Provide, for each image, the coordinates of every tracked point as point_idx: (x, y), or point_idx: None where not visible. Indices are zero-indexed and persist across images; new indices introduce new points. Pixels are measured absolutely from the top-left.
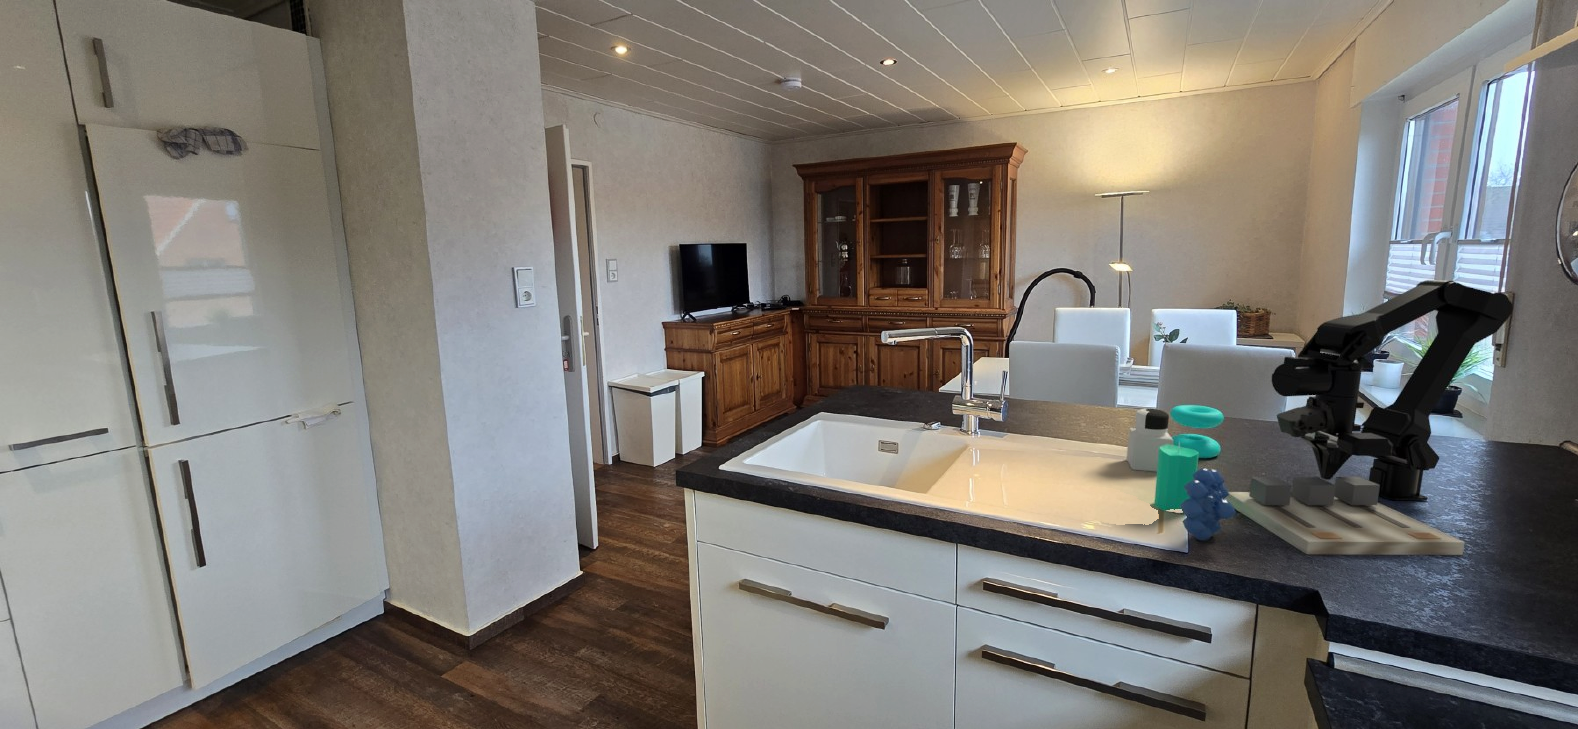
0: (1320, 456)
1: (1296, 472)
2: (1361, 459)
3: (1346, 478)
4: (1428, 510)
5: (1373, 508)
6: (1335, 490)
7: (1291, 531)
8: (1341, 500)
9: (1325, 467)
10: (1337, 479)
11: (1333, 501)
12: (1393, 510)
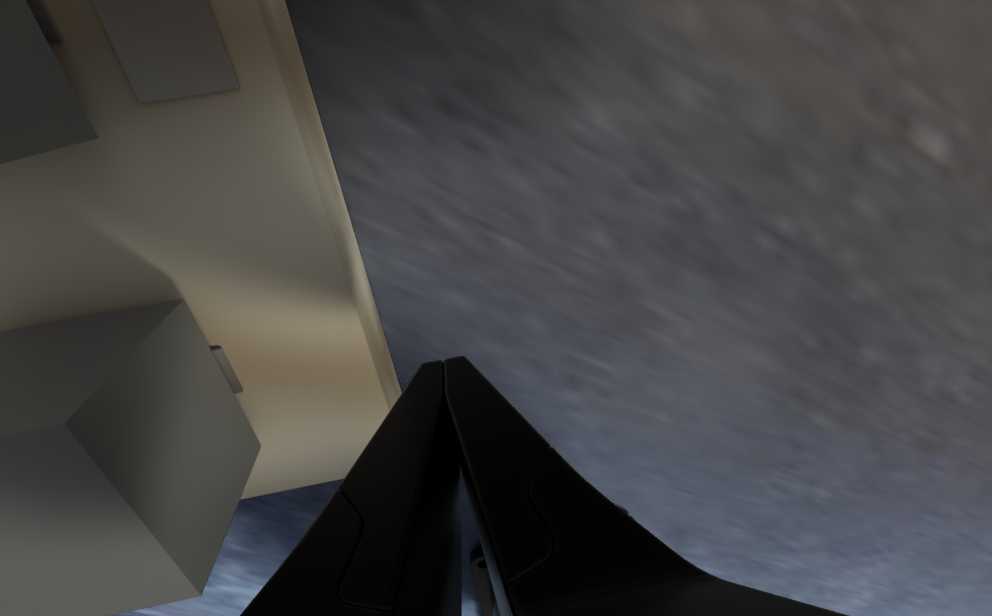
0: (484, 518)
1: (882, 348)
2: (922, 598)
3: (52, 495)
4: None
5: None
6: (139, 333)
7: None
8: None
9: (379, 442)
10: (47, 413)
11: (93, 259)
12: None
